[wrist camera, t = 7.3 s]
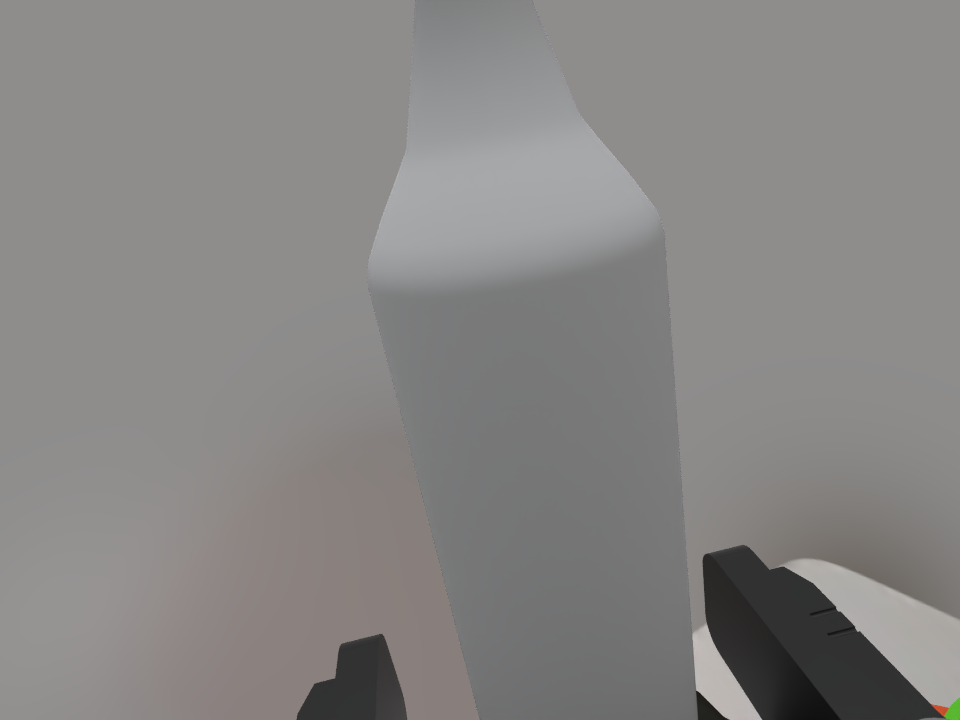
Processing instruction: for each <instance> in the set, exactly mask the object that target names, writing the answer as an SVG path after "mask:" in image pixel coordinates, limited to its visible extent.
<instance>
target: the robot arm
mask: <svg viewBox="0 0 960 720" xmlns="http://www.w3.org/2000/svg"><path fill="white" fill-rule="evenodd" d="M703 577H704V593H705V613H706V621H707V625H708V628H709V632H710V634H711V637H712V640H713V642H714V644H715V646H716V648H717V650H718V652H719V653H720V655H721V656H722V658H723V660H724V661H725V663H726V664H727V666H728V667H729V669H730V670H731V672H732V673H733V675H734V677H735V678H736V680H737V681H738V683H739V684H740V686H741V687H742V689H743V690H744V692H745V694H746V695H747V697H748V698H749V700H750V701H751V703H752V704H753V706H754V707H755V709H756V711H757V712H758V714H759V715H760V717H761V718H762V720H949V719H946V718H945V717H944V716H942V715H941V714H940V713H939V712H938V711H937V710H936V709H935V708H934V707H933V706H932V705H931V704H930V703H929V702H928V701H927V700H926V699H925V698H924V697H923V696H922V695H921V694H920V693H919V692H918V691H917V690H916V689H915V688H914V687H913V686H912V685H911V683H910V682H909V681H908V680H907V679H906V678H905V677H904V676H903V675H902V674H901V673H900V672H899V671H898V670H897V669H896V668H895V667H894V666H893V665H892V664H891V663H890V662H889V661H888V660H887V659H886V658H885V657H884V656H883V655H882V654H881V653H880V652H879V651H878V650H877V649H876V648H875V646H874V645H873V644H872V643H871V642H870V641H869V640H868V639H867V638H866V637H865V636H864V635H863V634H862V633H861V632H860V631H859V632H857V631H856V629H855V626H854V625H853V624H852V623H851V622H850V621H849V620H848V619H847V618H846V617H845V616H844V615H843V614H842V613H841V612H838V611H837V609H836V606H835V605H834V604H833V603H832V602H831V601H830V600H829V599H828V598H827V597H826V596H825V595H824V594H823V593H822V592H821V591H820V590H819V589H818V588H817V587H816V586H815V585H814V584H813V583H811V582H810V581H808V580H806V579H804V578H803V577H801V576H799V575H797V574H796V573H794V572H792V571H790V570H789V569H787V568H785V567H779V568H775V569H771V570H769V569H768V568H767V567H766V565H765V564H764V563H763V562H762V561H761V560H760V559H759V558H758V557H757V556H756V554H755V553H754V552H753V551H752V550H751V549H750V548H749V547H747V546H745V545H741V546H737V547H733V548H729V549H724V550H721V551H716V552H713V553H708V554H705V555H704V557H703ZM297 720H407V715H406V708H405V702H404V697H403V694H402V690H401V687H400V684H399V681H398V678H397V674H396V671H395V668H394V665H393V662H392V659H391V656H390V653H389V650H388V646H387V643H386V640H385V638H384V636H383V635H382V634H379V635H375V636H371V637H367V638H363V639H359V640H355V641H351V642H347V643H343V644H341V646H340V648H339V653H338V661H337V669H336V677H335V679H331V680H327V681H323V682H319V683H316V684H314V686H313V688H312V689H311V691H310V693H309V695H308V696H307V698H306V700H305V702H304V704H303V706H302V707H301V709H300V711H299V713H298V715H297Z"/></svg>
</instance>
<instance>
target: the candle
mask: <svg viewBox="0 0 960 720" xmlns="http://www.w3.org/2000/svg"><path fill="white" fill-rule="evenodd" d="M368 283H369V292H370V296H371V300H372V304H373V307H374V312H375V315H376V319H377V323H378V326H379V331H380V335H381V338H382V343H383V346H384V350H385V354H386V358H387V362H388V366H389V370H390V373H391V377H392V381H393V385H394V389H395V393H396V397H397V401H398V404H399V408H400V412H401V416H402V420H403V424H404V428H405V432H406V436H407V440H408V443H409V447H410V451H411V455H412V458H413V463H414V467H415V470H416V474H417V478H418V482H419V486H420V490H421V494H422V498H423V502H424V505H425V509H426V513H427V517H428V521H429V525H430V528H431V532H432V536H433V540H434V544H435V548H436V552H437V556H438V560H439V563H440V567H441V571H442V575H443V579H444V583H445V587H446V590H447V595H448V598H449V602H450V606H451V610H452V614H453V617H454V622H455V625H456V629H457V633H458V637H459V641H460V645H461V649H462V653H463V657H464V660H465V664H466V668H467V672H468V676H469V680H470V683H471V688H472V691H473V695H474V699H475V703H476V707H477V711H478V715H479V719H480V720H729V719H727V718H725V717H723V716H722V715H721V714H720V713H719V712H718V711H717V710H716V709H715V708H714V707H713V706H712V705H711V704H710V703H709V702H708V701H707V700H706V699H705V698H704V697H703V696H702V695H701V694H700V693H699V692H698V691H696V684H695V669H694V655H693V640H692V626H691V612H690V597H689V583H688V568H687V554H686V540H685V525H684V510H683V496H682V482H681V467H680V452H679V438H678V424H677V410H676V395H675V380H674V367H673V351H672V337H671V322H670V308H669V293H668V279H667V264H666V251H665V235H664V229H663V227H662V223H661V220H660V216H659V213H658V211H657V210H656V208H655V207H654V206H653V204H652V203H651V202H650V200H649V199H648V198H647V197H646V196H645V194H644V193H643V191H642V190H641V189H640V187H639V186H638V185H637V183H636V182H635V181H634V180H633V178H632V177H631V175H630V174H629V173H628V172H627V170H626V169H625V168H624V167H623V166H622V165H621V164H620V162H619V161H618V160H617V159H616V158H615V157H614V155H613V154H612V153H611V152H610V151H609V150H608V148H607V147H606V146H605V145H604V144H603V143H602V141H601V140H600V139H599V138H598V137H597V135H596V134H595V133H594V132H593V131H592V130H591V128H590V127H589V126H588V125H587V123H586V122H585V121H584V120H583V118H582V117H581V116H580V115H579V112H578V110H577V107H576V105H575V103H574V100H573V98H572V95H571V93H570V90H569V88H568V86H567V83H566V81H565V78H564V76H563V74H562V71H561V69H560V67H559V64H558V62H557V59H556V57H555V54H554V52H553V50H552V47H551V45H550V42H549V40H548V38H547V35H546V33H545V30H544V28H543V26H542V23H541V21H540V19H539V16H538V14H537V11H536V9H535V7H534V4H533V2H532V0H415V13H414V30H413V48H412V64H411V80H410V98H409V114H408V130H407V148H406V152H405V155H404V158H403V161H402V163H401V166H400V169H399V172H398V175H397V178H396V180H395V183H394V186H393V189H392V191H391V194H390V197H389V200H388V202H387V205H386V208H385V210H384V213H383V215H382V218H381V221H380V225H379V228H378V231H377V235H376V238H375V241H374V244H373V248H372V251H371V254H370V258H369V261H368Z"/></svg>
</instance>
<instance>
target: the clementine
mask: <svg viewBox="0 0 960 720" xmlns="http://www.w3.org/2000/svg"><path fill="white" fill-rule="evenodd" d="M931 705H932V704H931ZM932 706H933V707H934V708H935V709H936V710H937V711H938V712H939V713H940V714H941V715H942V716H944V717H945V718H946V719H949V720H960V698H958V699H957V700H956V701H955V702H954V703H953V704H952V705H951V706H950V708H946V707H942V706H937V705H932Z"/></svg>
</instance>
